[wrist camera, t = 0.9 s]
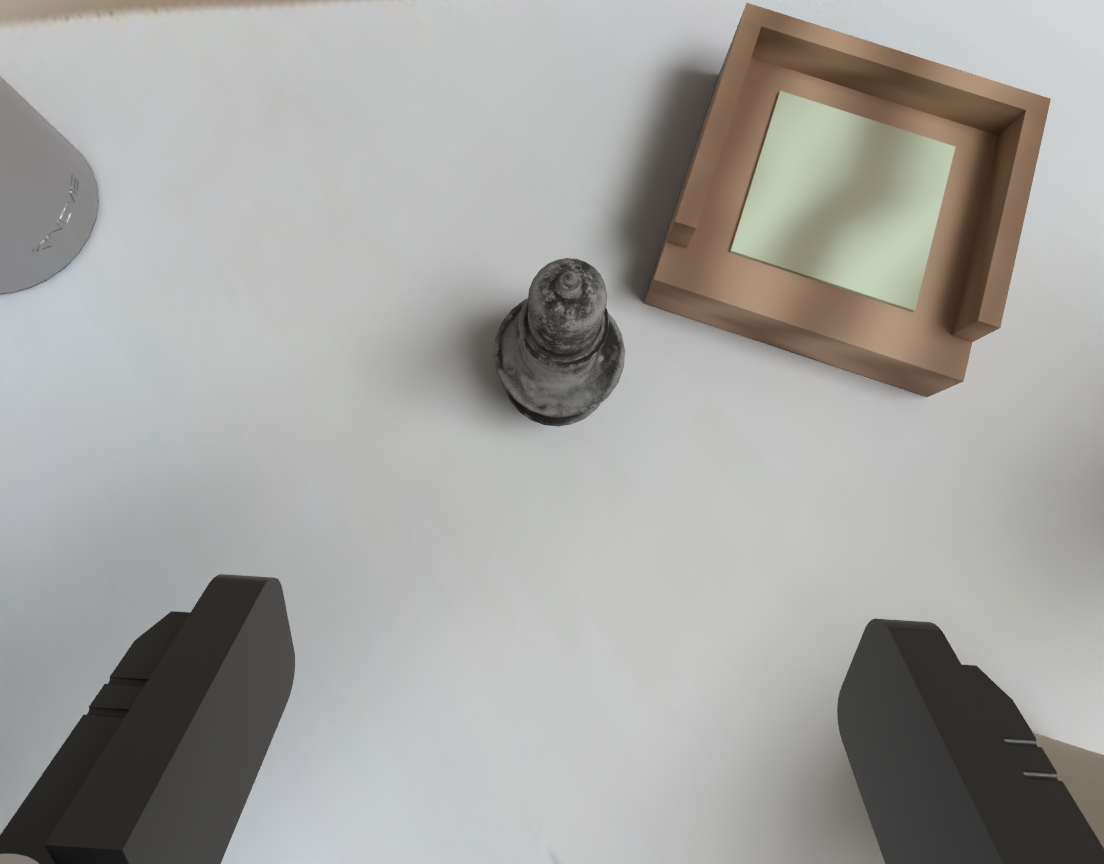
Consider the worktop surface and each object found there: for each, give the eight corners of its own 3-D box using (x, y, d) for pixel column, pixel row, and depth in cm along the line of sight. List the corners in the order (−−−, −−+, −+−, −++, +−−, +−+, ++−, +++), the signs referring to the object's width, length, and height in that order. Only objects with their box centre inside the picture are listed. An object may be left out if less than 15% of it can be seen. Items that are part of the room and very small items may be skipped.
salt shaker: (472, 376, 35) (445, 279, 24) (552, 295, 36) (565, 162, 24) (560, 456, 35) (576, 397, 23) (639, 371, 36) (694, 272, 24)
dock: (643, 303, 36) (661, 260, 31) (719, 74, 39) (746, 2, 34) (927, 396, 36) (990, 369, 31) (984, 159, 39) (1050, 98, 34)
